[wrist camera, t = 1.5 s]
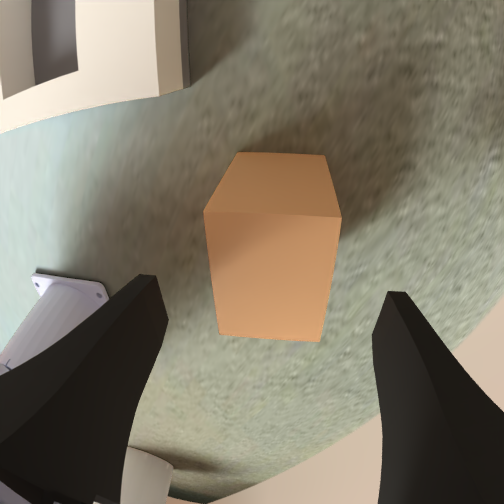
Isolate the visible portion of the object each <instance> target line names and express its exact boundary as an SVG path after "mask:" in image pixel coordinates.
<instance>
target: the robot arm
mask: <svg viewBox="0 0 504 504" xmlns="http://www.w3.org/2000/svg"><path fill="white" fill-rule="evenodd" d="M31 279H32V281H33V283H34V285H35V287H36V289H37V291H38V293H39V295H40V297H41V298H40V299H39V300H38V301H37V303H36V304H35V305H34V307H33V308H32V309H31V311H30V312H29V314H28V315H27V316H26V318H25V319H24V320H23V322H22V323H21V325H20V326H19V328H18V329H17V330H16V332H15V333H14V335H13V336H12V338H11V339H10V341H9V342H8V344H7V345H6V347H5V348H4V350H3V351H2V353H1V354H0V504H93V503H94V502H97V503H99V504H120V501H121V487H122V476H123V469H124V462H125V456H126V451H127V446H128V441H129V436H130V432H131V428H132V424H133V420H134V416H135V412H136V409H137V406H138V403H139V400H140V397H141V395H142V392H143V390H144V388H145V385H146V383H147V380H148V378H149V375H150V373H151V370H152V368H153V366H154V363H155V361H156V358H157V356H158V353H159V351H160V348H161V346H162V342H163V339H164V335H165V332H166V328H167V324H168V320H169V319H168V316H167V312H166V309H165V306H164V302H163V299H162V295H161V292H160V288H159V284H158V281H157V277H156V276H153V275H143V274H139V275H138V276H137V277H135V278H134V279H133V280H132V281H130V282H129V283H128V284H127V285H126V286H124V287H123V288H122V289H121V290H120V291H118V292H117V293H116V294H115V295H114V296H113V297H111V298H110V299H109V297H108V295H107V292H106V290H105V287H104V286H103V285H102V284H101V283H99V282H93V281H86V280H78V279H71V278H64V277H58V276H51V275H45V274H38V273H33V274H32V276H31ZM372 349H373V365H374V371H375V378H376V385H377V391H378V398H379V405H380V413H381V421H382V434H383V441H382V442H383V443H382V469H381V481H380V490H379V498H378V504H504V412H503V411H502V410H501V409H500V408H499V407H498V406H497V405H496V404H495V403H494V402H493V401H492V400H491V399H490V398H489V397H488V396H487V395H486V394H485V393H484V391H483V390H482V389H481V388H480V387H479V386H478V385H477V384H476V382H475V381H474V380H473V379H472V378H471V377H470V376H469V374H468V373H467V372H466V371H465V370H464V368H463V367H462V366H461V365H460V363H459V362H458V361H457V360H456V358H455V357H454V356H453V355H452V353H451V352H450V351H449V349H448V348H447V347H446V345H445V344H444V343H443V341H442V340H441V339H440V337H439V336H438V335H437V333H436V332H435V331H434V329H433V328H432V327H431V325H430V324H429V322H428V321H427V320H426V318H425V317H424V316H423V314H422V313H421V311H420V310H419V309H418V307H417V306H416V305H415V303H414V302H413V301H412V299H411V298H410V297H409V296H408V294H407V293H406V292H397V291H388V292H387V295H386V298H385V300H384V303H383V306H382V309H381V312H380V315H379V317H378V320H377V323H376V325H375V328H374V331H373V333H372Z"/></svg>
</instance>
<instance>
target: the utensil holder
mask: <svg viewBox="0 0 504 504" xmlns="http://www.w3.org/2000/svg"><path fill="white" fill-rule="evenodd" d="M172 473H173V466H172V465H171V464H170V463H168V462H167V461H165V460H163V459H161V458H159V457H156V456H154V455H152V454H149V453H147V452H144V451H141V450H138V449H135V448H132V447H128V446H127V451H126V456H125V462H124V469H123V476H122V487H121V501H120V504H165V503H166V498H167V495H168V491H169V486H170V482H171V477H172ZM93 504H99V503H97V502H94V503H93Z"/></svg>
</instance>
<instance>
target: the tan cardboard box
mask: <svg viewBox="0 0 504 504" xmlns="http://www.w3.org/2000/svg"><path fill="white" fill-rule="evenodd" d="M203 215H204V224H205V232H206V241H207V249H208V257H209V265H210V272H211V280H212V287H213V294H214V302H215V309H216V315H217V322H218V329H219V334H220V335H230V336H240V337H251V338H264V339H277V340H293V341H313V342H320V337H321V333H322V328H323V323H324V319H325V314H326V309H327V304H328V299H329V293H330V288H331V283H332V277H333V271H334V266H335V260H336V254H337V248H338V241H339V235H340V228H341V221H342V216H341V212H340V208H339V205H338V201H337V197H336V193H335V190H334V186H333V182H332V179H331V175H330V172H329V168H328V165H327V161H326V158H325V155H310V154H291V153H264V152H237V154H236V155H235V157H234V159H233V160H232V162H231V164H230V166H229V167H228V169H227V171H226V172H225V174H224V176H223V177H222V179H221V181H220V183H219V184H218V186H217V188H216V189H215V191H214V193H213V195H212V196H211V198H210V200H209V202H208V203H207V205H206V207H205V209H204V211H203Z"/></svg>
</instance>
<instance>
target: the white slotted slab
mask: <svg viewBox="0 0 504 504" xmlns="http://www.w3.org/2000/svg"><path fill="white" fill-rule="evenodd" d="M187 87H191V85H190V68H189V49H188V26H187V0H0V134H1V133H4V132H6V131H9V130H12V129H15V128H18V127H21V126H24V125H27V124H30V123H34V122H37V121H40V120H44V119H47V118H51V117H55V116H58V115H62V114H66V113H70V112H74V111H78V110H83V109H87V108H92V107H97V106H102V105H107V104H112V103H117V102H123V101H129V100H136V99H142V98H149V97H157V96H162V95H165V94H168V93H171V92H174V91H177V90H181V89H184V88H187Z"/></svg>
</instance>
